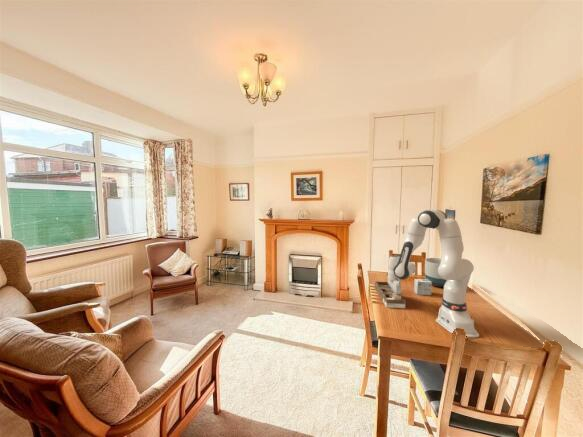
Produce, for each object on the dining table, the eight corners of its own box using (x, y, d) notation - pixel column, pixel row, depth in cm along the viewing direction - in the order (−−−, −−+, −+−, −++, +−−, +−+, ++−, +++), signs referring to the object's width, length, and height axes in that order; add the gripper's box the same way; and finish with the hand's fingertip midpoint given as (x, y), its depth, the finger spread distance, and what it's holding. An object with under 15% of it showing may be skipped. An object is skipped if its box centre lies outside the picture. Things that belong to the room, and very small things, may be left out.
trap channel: (405, 308, 160) (405, 300, 160) (386, 307, 162) (386, 299, 161) (390, 288, 195) (390, 282, 194) (374, 287, 196) (375, 281, 196)
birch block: (401, 302, 163) (401, 296, 163) (394, 301, 164) (394, 296, 163) (398, 298, 168) (399, 293, 168) (392, 298, 169) (392, 293, 168)
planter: (446, 292, 186) (448, 266, 184) (420, 284, 202) (421, 260, 200) (455, 285, 199) (456, 261, 197) (429, 279, 215) (430, 256, 213)
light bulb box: (427, 291, 187) (428, 278, 186) (431, 295, 181) (432, 282, 180) (413, 291, 188) (414, 278, 187) (417, 294, 182) (417, 281, 181)
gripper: (404, 281, 160) (403, 301, 162) (394, 272, 181) (393, 289, 182) (394, 281, 161) (393, 300, 162) (386, 271, 181) (385, 288, 183)
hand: (393, 294), depth 172 cm, fingers closed
